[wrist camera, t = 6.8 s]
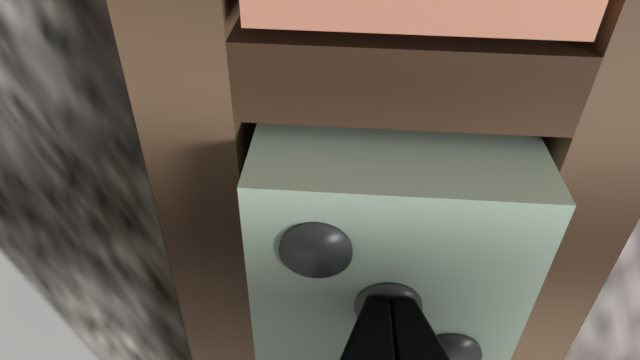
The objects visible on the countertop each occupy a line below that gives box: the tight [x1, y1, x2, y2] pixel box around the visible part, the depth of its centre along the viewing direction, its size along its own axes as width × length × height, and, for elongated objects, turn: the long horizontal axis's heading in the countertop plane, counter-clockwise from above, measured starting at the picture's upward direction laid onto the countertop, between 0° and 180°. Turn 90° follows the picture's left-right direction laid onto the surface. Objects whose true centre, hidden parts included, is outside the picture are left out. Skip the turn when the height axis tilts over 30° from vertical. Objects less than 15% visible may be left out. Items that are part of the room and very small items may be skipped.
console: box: [106, 0, 640, 360], centre depth 11 cm, size 22×9×3 cm, turn 179°
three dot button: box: [237, 123, 576, 360], centre depth 10 cm, size 5×5×3 cm
